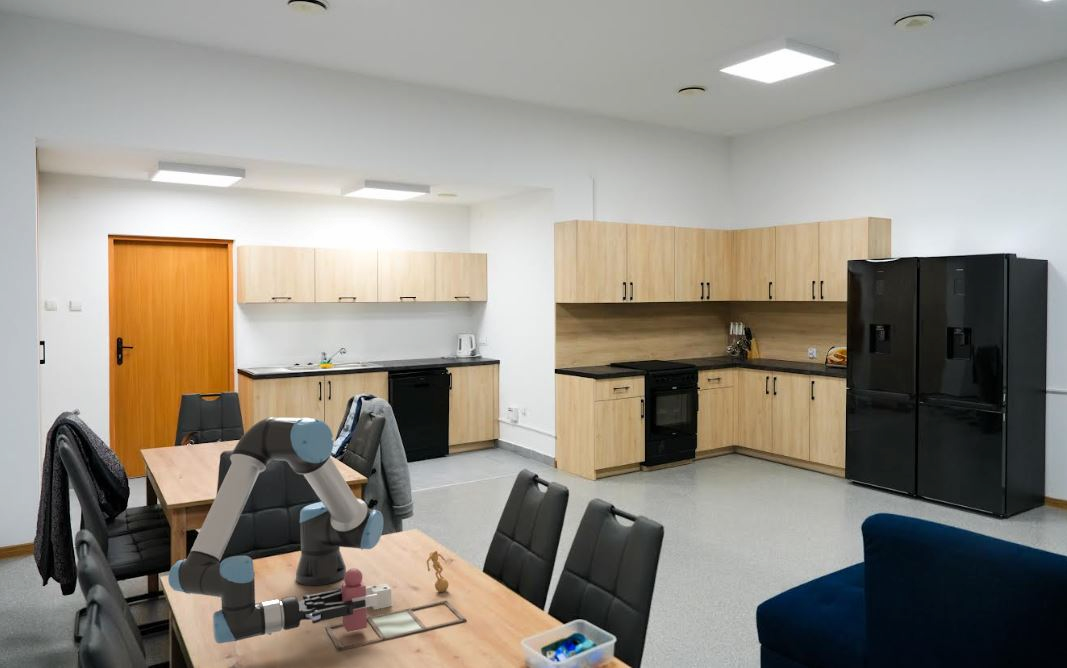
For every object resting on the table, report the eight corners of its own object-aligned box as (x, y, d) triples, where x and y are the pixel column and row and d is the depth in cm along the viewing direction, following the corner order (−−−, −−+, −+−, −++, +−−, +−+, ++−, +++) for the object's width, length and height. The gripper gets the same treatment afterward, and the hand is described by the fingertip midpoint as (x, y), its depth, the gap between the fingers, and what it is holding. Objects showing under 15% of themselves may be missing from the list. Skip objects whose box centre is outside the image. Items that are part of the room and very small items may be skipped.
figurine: (438, 597, 215) (437, 557, 214) (422, 594, 218) (421, 553, 217) (455, 588, 222) (454, 548, 221) (439, 584, 225) (438, 545, 224)
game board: (325, 628, 196) (325, 626, 196) (446, 601, 212) (446, 600, 212) (338, 651, 183) (338, 649, 183) (466, 621, 198) (466, 619, 198)
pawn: (342, 624, 193) (341, 567, 192) (361, 620, 195) (360, 564, 195) (347, 632, 189) (345, 573, 188) (367, 627, 191) (365, 570, 190)
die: (369, 603, 211) (368, 586, 211) (386, 600, 214) (385, 582, 214) (374, 609, 207) (373, 592, 207) (391, 606, 209) (391, 588, 209)
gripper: (276, 616, 191) (365, 597, 202) (288, 644, 176) (384, 622, 186) (275, 587, 191) (364, 570, 202) (287, 613, 175) (383, 593, 186)
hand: (374, 595), depth 194 cm, fingers closed on pawn, 5 cm apart
